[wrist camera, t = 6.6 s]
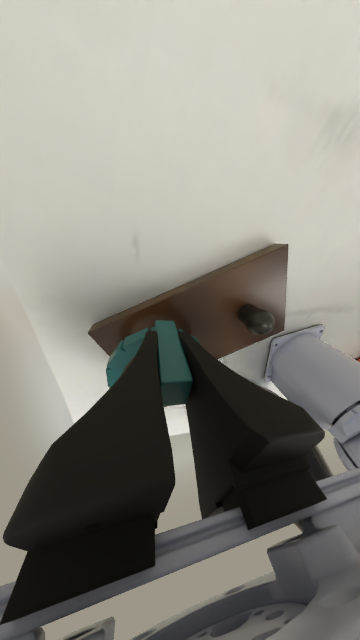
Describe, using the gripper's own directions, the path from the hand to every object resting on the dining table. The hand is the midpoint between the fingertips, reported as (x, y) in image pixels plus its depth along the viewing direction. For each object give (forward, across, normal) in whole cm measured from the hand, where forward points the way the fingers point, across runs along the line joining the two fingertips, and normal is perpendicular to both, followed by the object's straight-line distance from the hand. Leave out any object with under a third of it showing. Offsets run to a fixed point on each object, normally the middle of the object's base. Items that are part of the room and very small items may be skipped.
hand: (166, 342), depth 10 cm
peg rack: (+5, -4, +1) cm, 7 cm away
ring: (+2, 0, +4) cm, 4 cm away
